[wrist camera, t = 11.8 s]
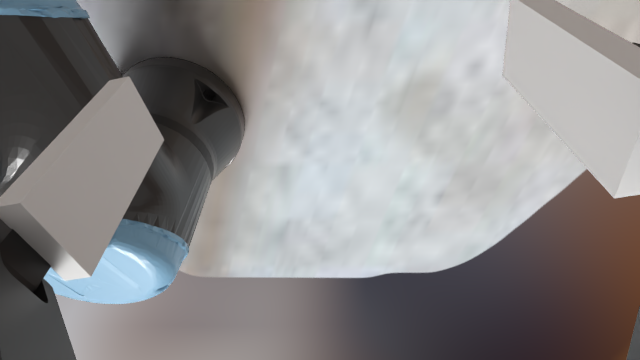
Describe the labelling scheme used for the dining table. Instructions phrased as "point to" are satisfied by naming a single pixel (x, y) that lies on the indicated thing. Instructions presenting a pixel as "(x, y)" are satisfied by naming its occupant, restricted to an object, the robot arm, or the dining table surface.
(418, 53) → the dining table surface
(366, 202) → the dining table surface
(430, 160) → the dining table surface
